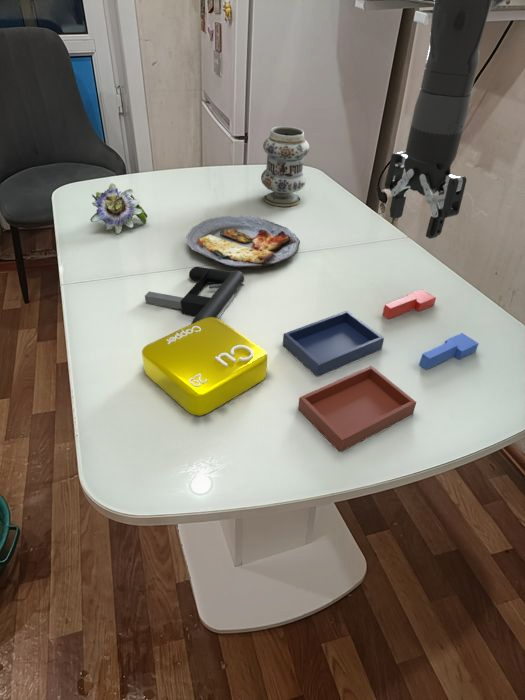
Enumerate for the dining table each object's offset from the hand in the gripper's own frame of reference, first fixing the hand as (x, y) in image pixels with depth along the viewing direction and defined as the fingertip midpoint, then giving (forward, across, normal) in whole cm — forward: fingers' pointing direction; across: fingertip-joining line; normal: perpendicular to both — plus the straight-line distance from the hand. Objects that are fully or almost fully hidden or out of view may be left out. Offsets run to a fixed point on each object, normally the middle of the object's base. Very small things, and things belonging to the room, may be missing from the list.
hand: (412, 226), depth 86 cm
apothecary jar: (+18, +57, -11) cm, 61 cm away
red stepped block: (+18, 0, -4) cm, 18 cm away
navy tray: (+18, -3, +16) cm, 24 cm away
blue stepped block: (+18, -14, 0) cm, 23 cm away
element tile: (+18, +1, +38) cm, 42 cm away
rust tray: (+18, -17, +22) cm, 33 cm away
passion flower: (+18, +60, +33) cm, 71 cm away
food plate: (+18, +37, +12) cm, 43 cm away
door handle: (+18, +22, +31) cm, 42 cm away
